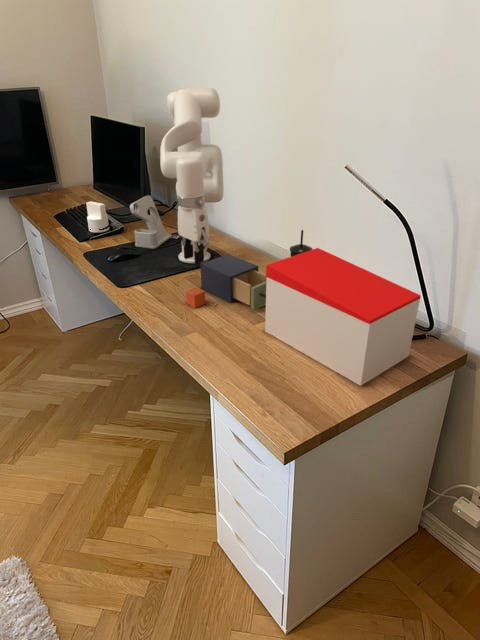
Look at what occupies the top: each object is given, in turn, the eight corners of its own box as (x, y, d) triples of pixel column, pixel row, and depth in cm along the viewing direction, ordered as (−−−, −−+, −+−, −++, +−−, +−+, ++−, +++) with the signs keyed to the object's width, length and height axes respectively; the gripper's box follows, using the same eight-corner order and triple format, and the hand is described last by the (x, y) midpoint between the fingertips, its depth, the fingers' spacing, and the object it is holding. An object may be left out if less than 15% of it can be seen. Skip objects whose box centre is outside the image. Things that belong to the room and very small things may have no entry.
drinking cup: (295, 291, 166) (299, 235, 156) (283, 283, 172) (286, 228, 162) (314, 287, 169) (318, 232, 159) (301, 279, 175) (305, 225, 165)
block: (186, 303, 158) (185, 291, 156) (197, 299, 161) (196, 287, 159) (195, 308, 155) (194, 295, 153) (205, 303, 158) (205, 291, 156)
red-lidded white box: (311, 309, 154) (317, 247, 144) (408, 356, 131) (422, 285, 121) (263, 330, 143) (265, 264, 133) (360, 386, 119) (371, 310, 109)
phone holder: (154, 249, 202) (150, 206, 193) (133, 246, 204) (128, 203, 196) (172, 235, 216) (169, 195, 207) (152, 233, 219) (148, 193, 210)
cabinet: (258, 291, 166) (258, 265, 162) (230, 302, 159) (230, 276, 154) (228, 278, 176) (228, 254, 171) (201, 288, 168) (200, 263, 164)
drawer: (291, 304, 156) (292, 283, 152) (266, 316, 149) (267, 294, 145) (249, 285, 168) (249, 265, 164) (224, 296, 161) (224, 275, 157)
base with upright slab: (113, 228, 225) (110, 202, 219) (99, 233, 218) (95, 207, 212) (99, 225, 229) (95, 199, 223) (84, 230, 222) (80, 204, 216)
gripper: (220, 204, 139) (221, 264, 148) (183, 193, 150) (186, 249, 158) (199, 210, 134) (202, 271, 143) (163, 198, 145) (167, 255, 154)
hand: (194, 259), depth 151 cm, fingers open, 4 cm apart
